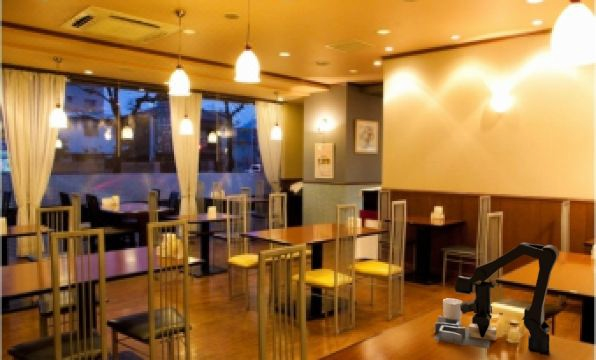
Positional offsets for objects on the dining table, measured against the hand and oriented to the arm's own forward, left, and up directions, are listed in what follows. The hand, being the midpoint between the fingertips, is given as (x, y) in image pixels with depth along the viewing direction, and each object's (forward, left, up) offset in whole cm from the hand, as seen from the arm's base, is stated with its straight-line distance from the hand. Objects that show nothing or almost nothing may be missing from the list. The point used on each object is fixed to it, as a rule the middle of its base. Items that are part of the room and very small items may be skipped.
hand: (482, 335), depth 182 cm
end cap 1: (+13, -1, -1) cm, 14 cm away
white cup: (+13, -11, -1) cm, 17 cm away
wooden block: (0, 0, -1) cm, 1 cm away
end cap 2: (+11, +8, -1) cm, 13 cm away
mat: (+7, +2, -1) cm, 8 cm away
